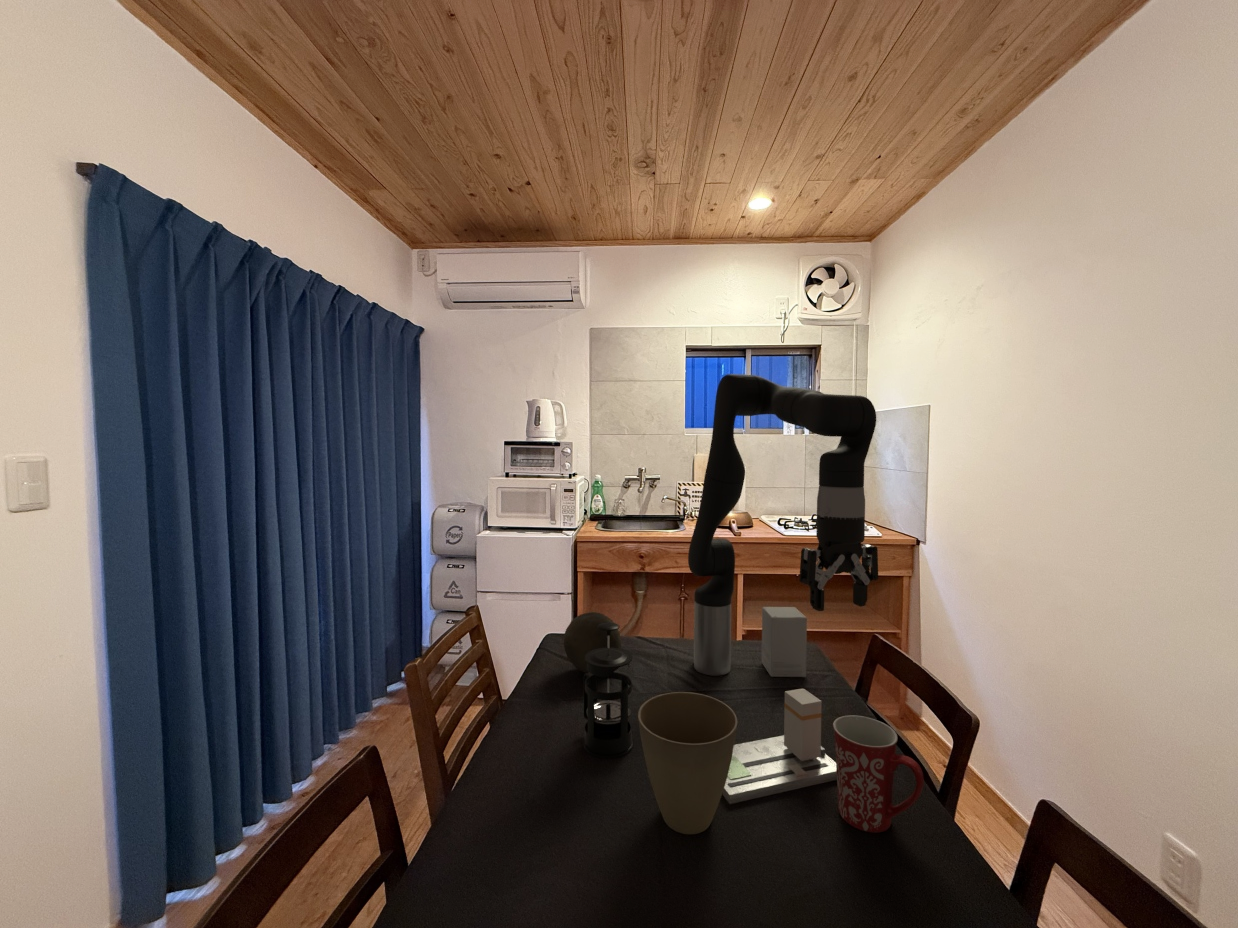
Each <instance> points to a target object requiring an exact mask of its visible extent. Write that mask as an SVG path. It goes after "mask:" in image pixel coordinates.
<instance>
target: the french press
mask: <svg viewBox="0 0 1238 928" xmlns="http://www.w3.org/2000/svg"><path fill="white" fill-rule="evenodd" d="M598 629H600V630H603V631H606V635H607V636H608V648H599V649H595V650H592V651H590V652H588V653H587V654H586V655H585V661H586V662H587V670H588V671H589V673H584V674H583V718H584V719H585V720H587V721H586V723H585V724H584V740H583V748H584V751H586V752H587V754H589V755H591V756H592V757H595V758H599V759H606V760H608V759H617V758H620V757H623V756H625V755H627V754H629V752H631V750H632V748H633V746H634V745H633V744H634V740H633V736H632V735H633V727H632V724H631V722H630V720H629V717H630V715H631V708H630V707H629V695H630V694H631V693H632V691H633V681H632V679H631V677H629V676H628V675H626V674H623V673H621V672H617V670H618V669H619V668H621V667H622V668H623V667H625V666H627V667H628V668H630V667H631V666H630V664H631V662H632V660H633V656H632V653H630V652H629V651H628V650H626V649H622V648H621V649H618V648H609V647H610V635H611V631H614V630H617V629H618V630H619V629H620V625H619V624H618V623H616V622H614V623H610V622H607V623H602V624H599V625H598ZM606 679H607V681H606V682H607V691H606V692H602V691H601V692H600V691H598V681H599V680H606ZM610 680H617V681H620V684H621V687H620V691H616V692H615V691H614V692H610ZM598 700H599V701H598ZM618 700H620V701H618ZM605 733H610V734H611V733H612V734H615V735H616V734H617V735H619V738H618V737H617V738H613V739H602V738H597V737H596V736H598V735H600V734H605Z"/></svg>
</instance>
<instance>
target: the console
mask: <svg viewBox="0 0 1238 928" xmlns="http://www.w3.org/2000/svg"><path fill="white" fill-rule="evenodd" d="M833 781H837V773H836V760H833V759H832V758H831V757H830V756H829V755H827V753H826V749H825V748H824V747H823V746H822V745H821V757H818V758H813V759H808V760H804V761H801V760H800V759H799V758H798V757H796V756H795V755H794V754H793V753H792V752H791V751H790V750H789V749H788V748H787V747H786V746H784V734H783V735H779V736H774V737H769V738H764V739H763V738H761V739H759V740H758V739H757V740H753V741H746V742H742V743H737V744H734V748H733V754H732V759H731V764H730V768H729V772H728V776H727V779H726V783H725V786H724V789H723V793H722V796H723V797H724V799H725V800H726V802H727V803H728V804H729V805H733V804H737V803H740V802H746V801H750V800H753V799H754V800H755V799H759V798H763V797H767V796H771V795H775V794H780V793H784V792H790V791H794V790H797V789H802V788H806V787H810V786H816V785H820V784H823V783H829V782H833Z"/></svg>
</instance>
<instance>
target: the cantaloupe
mask: <svg viewBox="0 0 1238 928" xmlns="http://www.w3.org/2000/svg"><path fill="white" fill-rule="evenodd" d="M607 622H610V623H615V622H614V620H613V619H611V618H610V617H608V616H607V615H605V614H604V613H601V612H596V611H591V612H590V611H589V612H585V613H581V614H579V615H577V616H576V617H574V618H573V619H572V620H571V621H570V622H569V624H568V626H567V627H566V629H565V631H564V635H563V646H564V648H563V649H564V651H565V654H566V657H567V659H568V661H569V662H570V663H571V664H572V665H573V667H575V668H576V669H577V670H578V671H580V672H582V673H584V674H586V673H589V671H588V670H587V662H586V661H585V655H586V654H587V653H588V652H590V651H592V650H595V649H599V648H608V636H607V635H606V631H603V630H600V629H598V625H599V624H602V623H607ZM621 637H622V636H621V634H620V631H619V629H617V630H614V631H611V635H610V647H609V648H618V649H622V639H621Z"/></svg>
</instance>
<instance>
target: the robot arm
mask: <svg viewBox="0 0 1238 928" xmlns="http://www.w3.org/2000/svg"><path fill="white" fill-rule="evenodd" d="M713 413H714V414H713V421H712V422H713V423H712V424H713V425H712V434H711V442H710V448H709V454H708V460H707V463H706V468H705V472H704V473H705V474H704V479H703V486H702V493H701V497H700V498H701V499H700V503H699V509H698V515H697V518H696V522H695V526H694V529H693V533H692V536H691V541H690V544H689V548H688V554H687V562H688V563H687V564H688V567H689V571H690V572H691V574H692V575H694V576H697V577H711V576H712V577H711V578H710V579H709V580H708V581H707V582H706V583H704V584H703V585H700V586H698V587H697V588H696V589H695V591H694V609H693V610H694V617H693V618H694V623H693V624H694V625H693V626H694V627H693V668H694V670H696V672H699V673H700V674H702V675H708V676H718V677H719V676H724V675H727V674H729V673H730V672H731V664H732V663H731V659H732V657H731V656H732V653H731V652H732V597H733V594H734V593H733V592H734V585H735V568H736V553H735V549H734V545H733V544H732V542H731V541H730V540H729V539H727V538H724V537H722V538H721V537H720V538H719V537H718V538H714V536H715V533H716V531H717V529H718V527H719V526H720V524H722V522H723V521H724V519H725V518H727V516H728V515H729V514H730V512H732V510H733V509H734V508H735V506H736V505H737V504H738V502H739V501H740V499H741V496H742V493H743V487H744V482H745V477H746V468H745V464H744V461H743V458H742V455H741V454H740V451H739V449H738V447H737V445H736V444H737V443H736V441H735V433H734V432H735V422H736V417H737V416H738V417H739V416H740V417H753V416H760V415H762V416H763V415H775V416H776V417H777V418H778V419H779V420H781V421H782V422H784V423H787V424H790V425H793V426H798V427H801V428H804V429H806V430H807V431H809V432H811V433H813V434H815V435H817V436H818V435H819V436H823V437H830V438H831V437H840V440H839V443H838V445H837V447H836V448H835V449H833V450H829V451H826V452H824V453H823V454H821V455H820V457H819V463H818V465H819V466H818V467H819V469H818V491H817V497H816V502H817V503H816V536H815V537H816V538H817V541H818V545H817V548H816V549H814V548H813V549H811V548H807V547H803V548H801V552H800V563H799V564H800V565H799V577H798V578H799V579H798V580H799V582H800V583H801V584H803V585H807V586H808V587H809V589H810V590H809V591H810V592H809V595H810V596H809V597H810V598H809V603H810V606H811V607H812V609H813V610H815V611H817V612H824V610H825V589H824V587H825V586H826V584H827V583H828V581H829V580H831V579H832V578H833V577H834V575H840V574H843V573H847V574H850V576H851V577H852V579H853V581H854V582H853V583H852V586H853V587H852V603H853V605H856V606H858V607H865V606H867V605H866V603H867V601H868V586H869V584H870V582H872V581H877V580H878V579H879V560H878V559H879V556H878V555H879V554H878V547H877V546H876V545H871V544H867V543H863V542H864V541H865V536H866V535H865V533H866V532H865V529H866V526H865V525H866V497H865V496H866V495H865V487H864V486H865V464H866V463H865V462H866V458H867V456H868V452H869V449H870V447H871V446H870V445H871V443H872V440H873V436H874V432H875V430H876V425H877V412H876V408H875V406H874V404H873V402H872V401H871V400H870V399H869V398H868V397H865V396H863V395H855V394H829V393H824V392H821V391H819V390H815V389H811V388H810V389H809V388H803V387H795V386H783V385H780V384H778V383H776V382H774V381H772V380H769V379H767V378H765V377H762V376H760V375H756V374H743V373H742V374H741V373H740V374H739V373H729V374H727V373H726V374H725V375H724V376H722V377H721V379H720V381H719V383H718V386H717V389H716V393H715V402H714V411H713ZM860 560H861V561H860ZM824 569H825V570H824Z"/></svg>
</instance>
